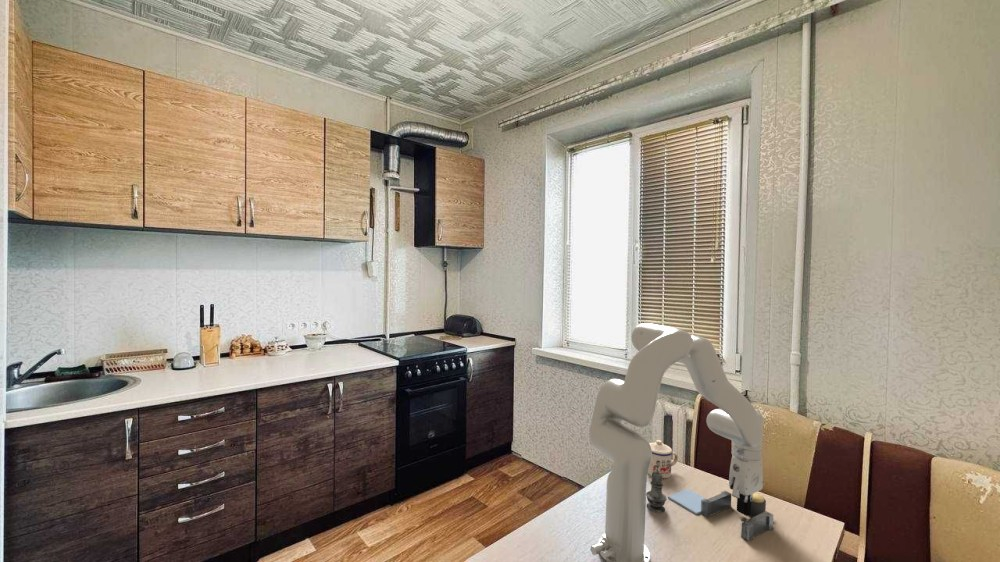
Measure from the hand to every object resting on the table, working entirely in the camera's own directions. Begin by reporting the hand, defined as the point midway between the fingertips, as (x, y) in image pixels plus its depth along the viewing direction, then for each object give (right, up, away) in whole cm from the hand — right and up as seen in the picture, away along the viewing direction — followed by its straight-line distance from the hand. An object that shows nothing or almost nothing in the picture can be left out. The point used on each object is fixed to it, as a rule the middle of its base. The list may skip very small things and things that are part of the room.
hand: (743, 512), depth 118 cm
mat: (-12, -1, +7) cm, 14 cm away
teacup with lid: (-14, -1, +25) cm, 29 cm away
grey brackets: (-3, -1, -2) cm, 4 cm away
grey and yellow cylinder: (+5, -1, +3) cm, 5 cm away
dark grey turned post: (-25, -1, +4) cm, 25 cm away
